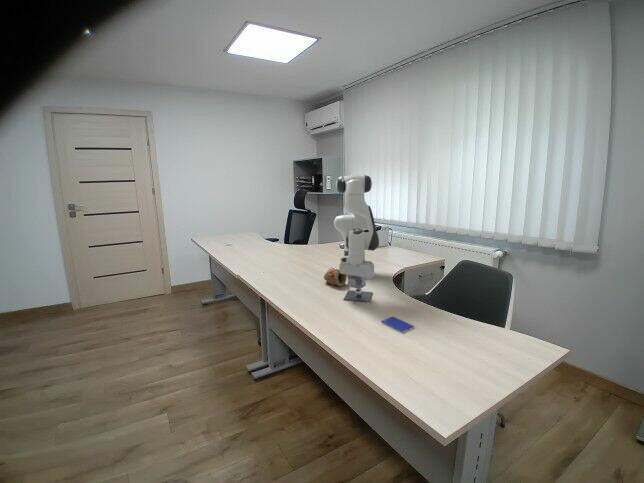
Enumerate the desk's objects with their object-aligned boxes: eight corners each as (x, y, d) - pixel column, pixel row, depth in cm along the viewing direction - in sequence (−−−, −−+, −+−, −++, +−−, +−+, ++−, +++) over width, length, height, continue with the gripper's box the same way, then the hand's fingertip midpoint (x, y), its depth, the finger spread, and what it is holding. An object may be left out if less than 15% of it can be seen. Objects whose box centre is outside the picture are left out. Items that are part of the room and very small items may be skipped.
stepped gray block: (355, 283, 184) (355, 273, 183) (365, 285, 181) (365, 275, 179) (346, 289, 176) (346, 278, 175) (356, 291, 172) (356, 280, 171)
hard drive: (380, 320, 149) (401, 331, 139) (393, 316, 153) (414, 325, 143) (380, 324, 149) (401, 334, 139) (393, 319, 154) (414, 329, 144)
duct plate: (348, 291, 189) (348, 284, 189) (372, 293, 186) (372, 286, 185) (343, 300, 176) (343, 293, 175) (369, 302, 173) (369, 295, 172)
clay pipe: (323, 292, 198) (346, 287, 193) (317, 276, 196) (340, 270, 192) (330, 282, 216) (351, 276, 211) (325, 267, 214) (346, 261, 209)
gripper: (376, 260, 172) (376, 285, 175) (343, 255, 184) (343, 279, 187) (371, 263, 167) (370, 288, 170) (337, 257, 179) (337, 282, 182)
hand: (356, 283), depth 178 cm, fingers closed on stepped gray block, 6 cm apart
